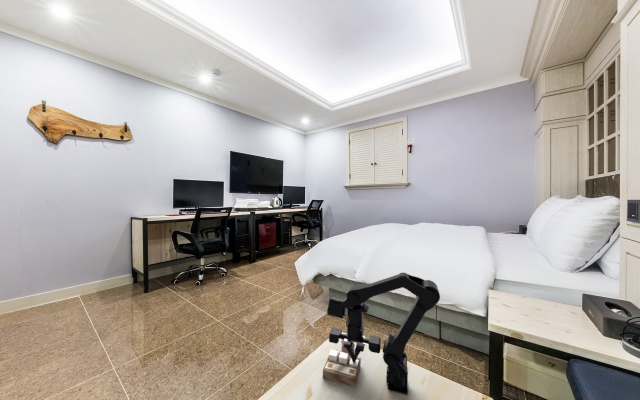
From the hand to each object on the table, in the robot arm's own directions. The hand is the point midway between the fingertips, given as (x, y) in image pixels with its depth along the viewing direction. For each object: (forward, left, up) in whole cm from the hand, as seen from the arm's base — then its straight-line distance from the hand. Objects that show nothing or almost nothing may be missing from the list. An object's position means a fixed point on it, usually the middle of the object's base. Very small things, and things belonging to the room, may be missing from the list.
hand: (354, 361), depth 85 cm
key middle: (+4, 0, -1) cm, 4 cm away
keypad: (+4, +2, -4) cm, 6 cm away
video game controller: (+4, -8, -4) cm, 10 cm away
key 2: (0, 0, -3) cm, 3 cm away
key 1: (+8, 0, -1) cm, 8 cm away
